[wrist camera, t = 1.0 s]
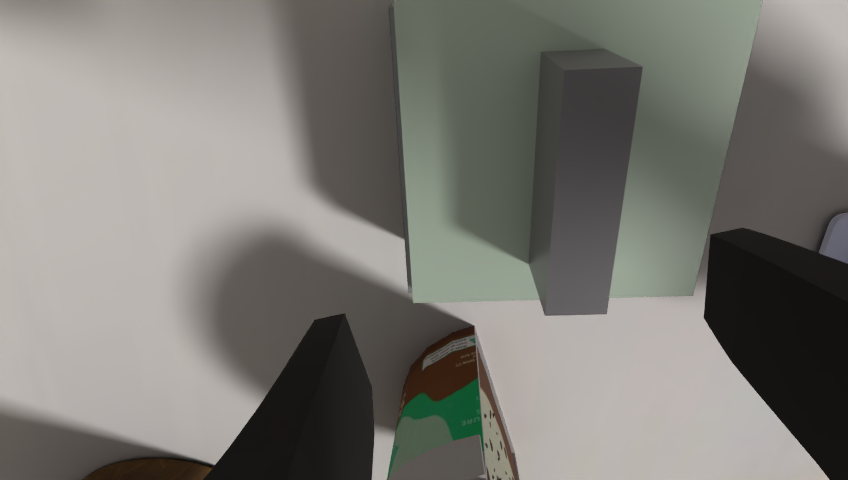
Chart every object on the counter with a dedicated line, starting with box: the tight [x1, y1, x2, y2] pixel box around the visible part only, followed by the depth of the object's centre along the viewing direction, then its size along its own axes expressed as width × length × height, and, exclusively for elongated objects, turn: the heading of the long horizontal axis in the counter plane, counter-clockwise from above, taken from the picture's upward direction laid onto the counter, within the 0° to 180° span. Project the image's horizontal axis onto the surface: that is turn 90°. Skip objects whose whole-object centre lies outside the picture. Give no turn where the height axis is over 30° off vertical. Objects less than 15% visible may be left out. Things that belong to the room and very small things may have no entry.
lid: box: [393, 0, 763, 316], centre depth 16 cm, size 10×10×5 cm
